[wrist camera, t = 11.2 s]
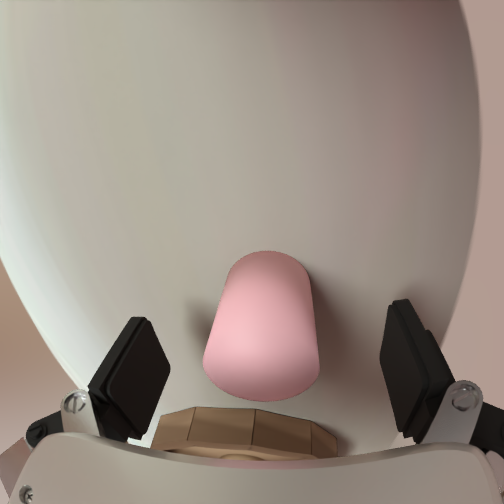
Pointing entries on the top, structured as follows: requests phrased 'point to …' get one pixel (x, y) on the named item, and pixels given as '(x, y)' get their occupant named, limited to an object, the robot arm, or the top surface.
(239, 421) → the tray
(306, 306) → the bead
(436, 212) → the top surface
